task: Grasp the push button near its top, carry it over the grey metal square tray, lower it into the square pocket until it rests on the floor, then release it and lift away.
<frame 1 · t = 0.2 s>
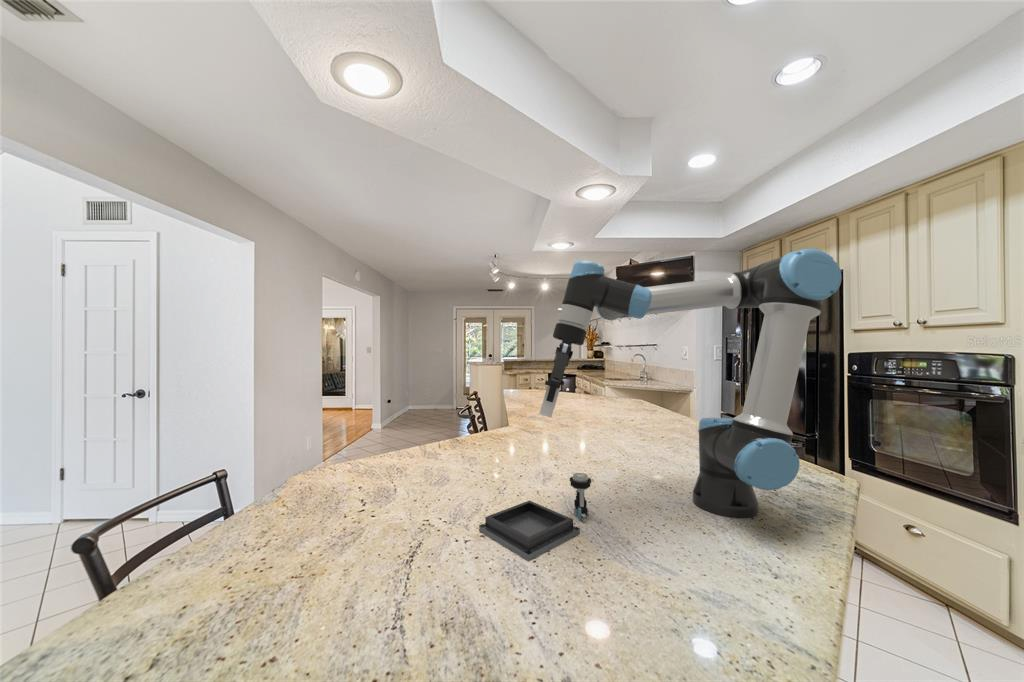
hand: (547, 411, 88), 26 cm above the countertop, tool tilted 15°, fingers open, 13 cm apart
grey metal square tray: (529, 532, 83), on the countertop
push button: (581, 518, 91), on the countertop
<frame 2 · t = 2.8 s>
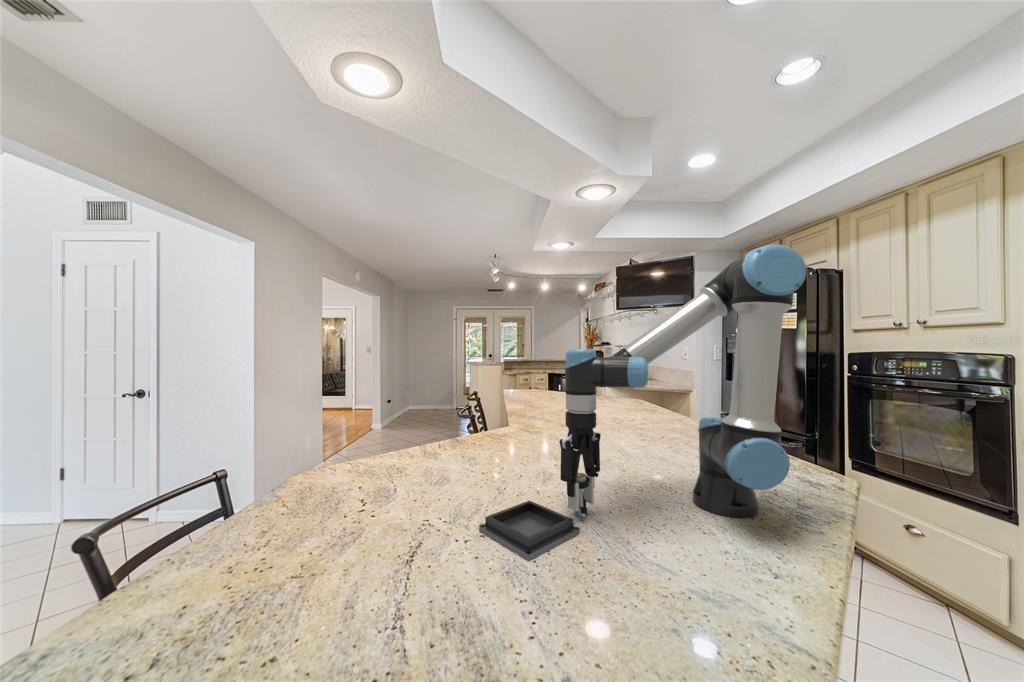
hand: (581, 505, 91), 3 cm above the countertop, tool pointing down, fingers closed on push button, 5 cm apart
push button: (581, 517, 91), on the countertop, touching gripper
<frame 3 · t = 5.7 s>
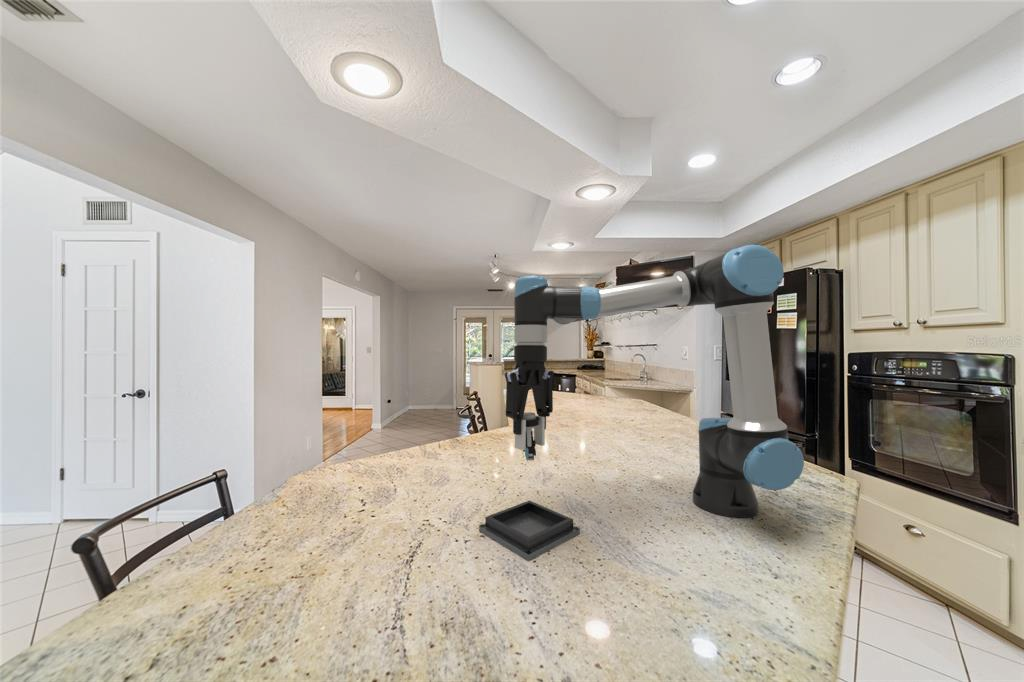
hand: (529, 446, 84), 19 cm above the countertop, tool pointing down, fingers closed on push button, 5 cm apart
push button: (529, 459, 84), point 16 cm above the countertop, touching gripper
when the fingers open (4 cm above the countertop, at t = 8.7 s): push button stays where it is, resting on grey metal square tray.
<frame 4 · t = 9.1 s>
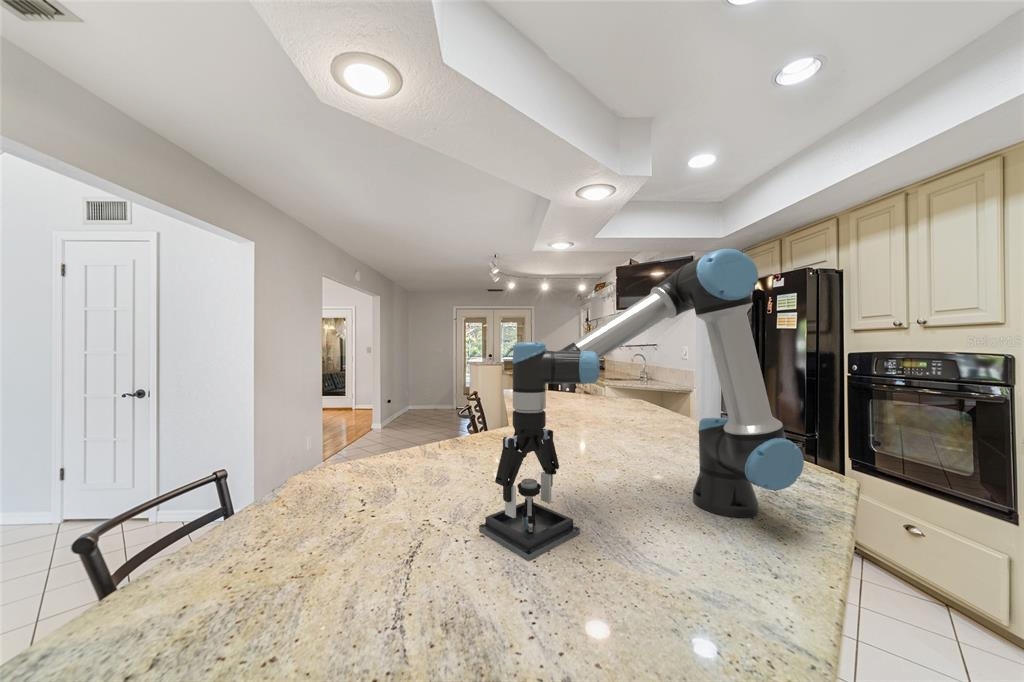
hand: (529, 508, 83), 5 cm above the countertop, tool pointing down, fingers open, 10 cm apart
push button: (529, 527, 83), point 1 cm above the countertop, touching grey metal square tray
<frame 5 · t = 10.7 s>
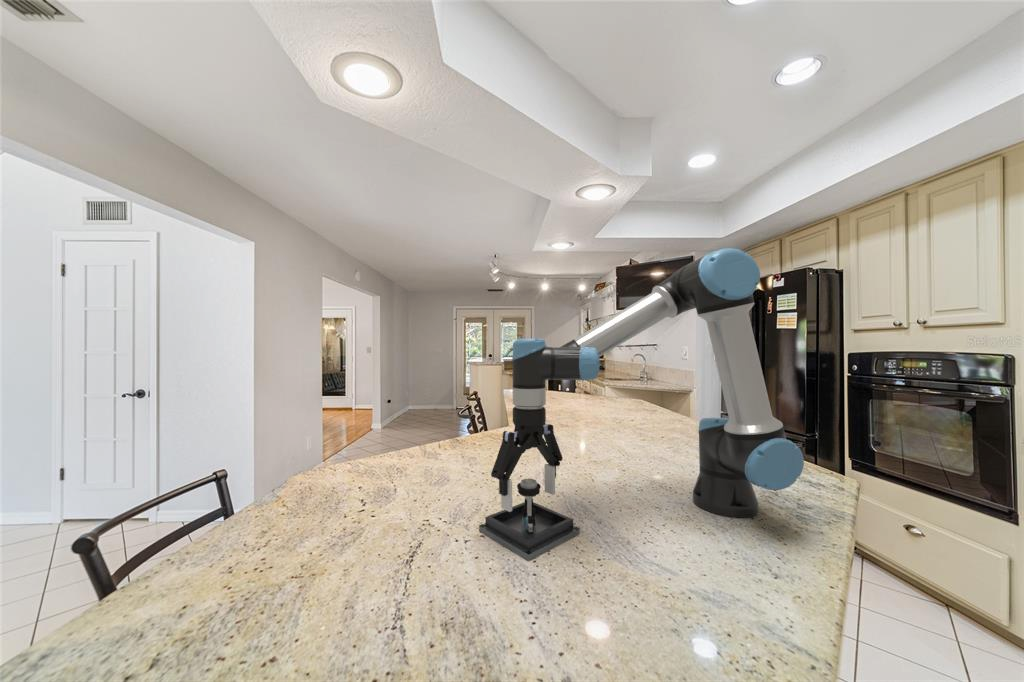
hand: (529, 501, 83), 7 cm above the countertop, tool pointing down, fingers open, 13 cm apart
nothing on the countertop moved.
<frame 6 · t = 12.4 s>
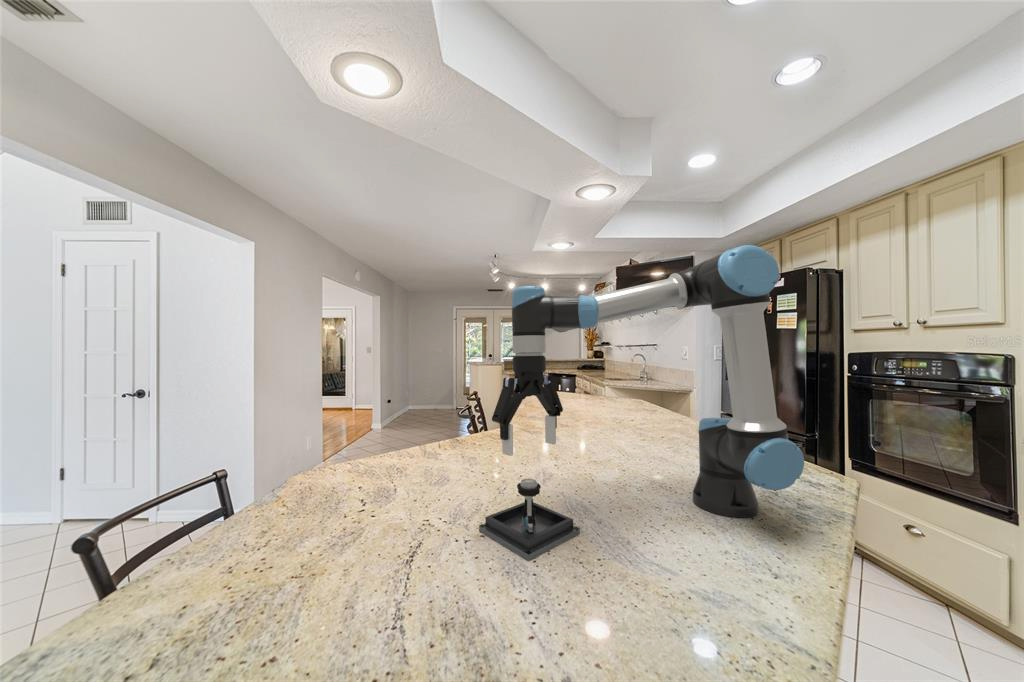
hand: (530, 448, 84), 19 cm above the countertop, tool pointing down, fingers open, 13 cm apart
nothing on the countertop moved.
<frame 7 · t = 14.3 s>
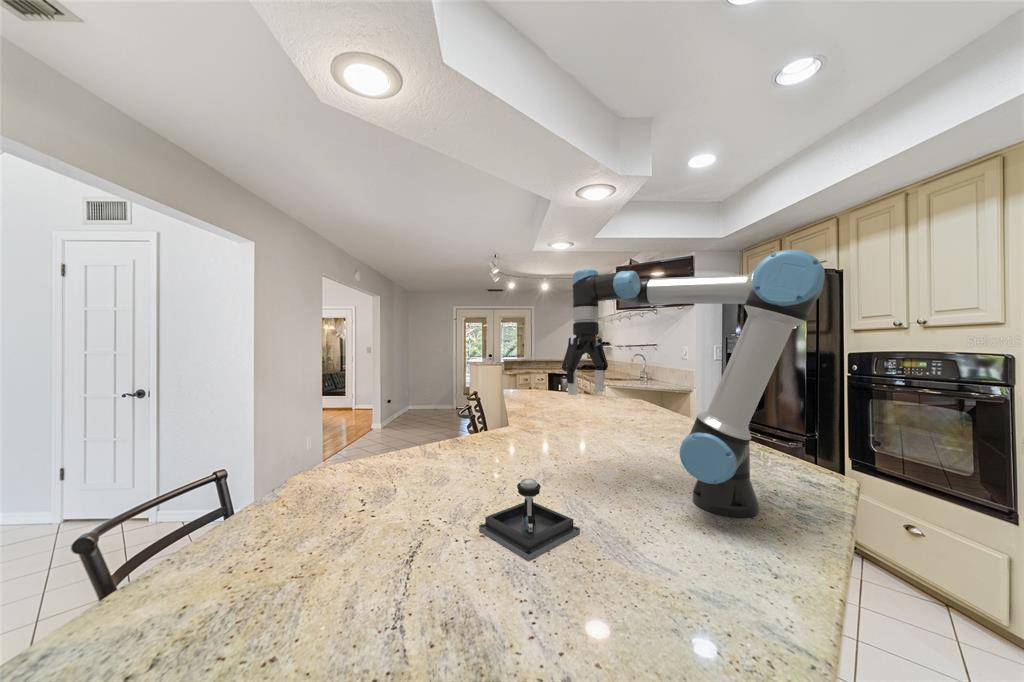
hand: (586, 393, 110), 28 cm above the countertop, tool pointing down, fingers open, 13 cm apart
nothing on the countertop moved.
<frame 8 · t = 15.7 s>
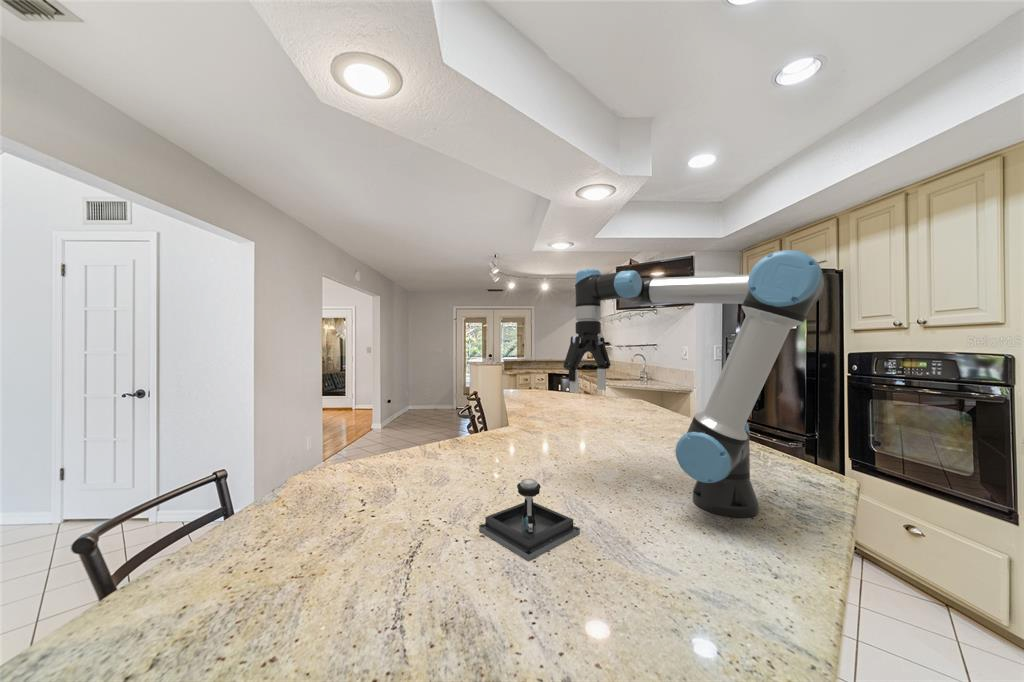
hand: (588, 391, 112), 29 cm above the countertop, tool pointing down, fingers open, 13 cm apart
nothing on the countertop moved.
at the end: push button inside the target area on the grey metal square tray (0.0 cm from its centre), point 1.0 cm above the grey metal square tray's base; push button tilted 0°; the gripper is holding nothing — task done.
